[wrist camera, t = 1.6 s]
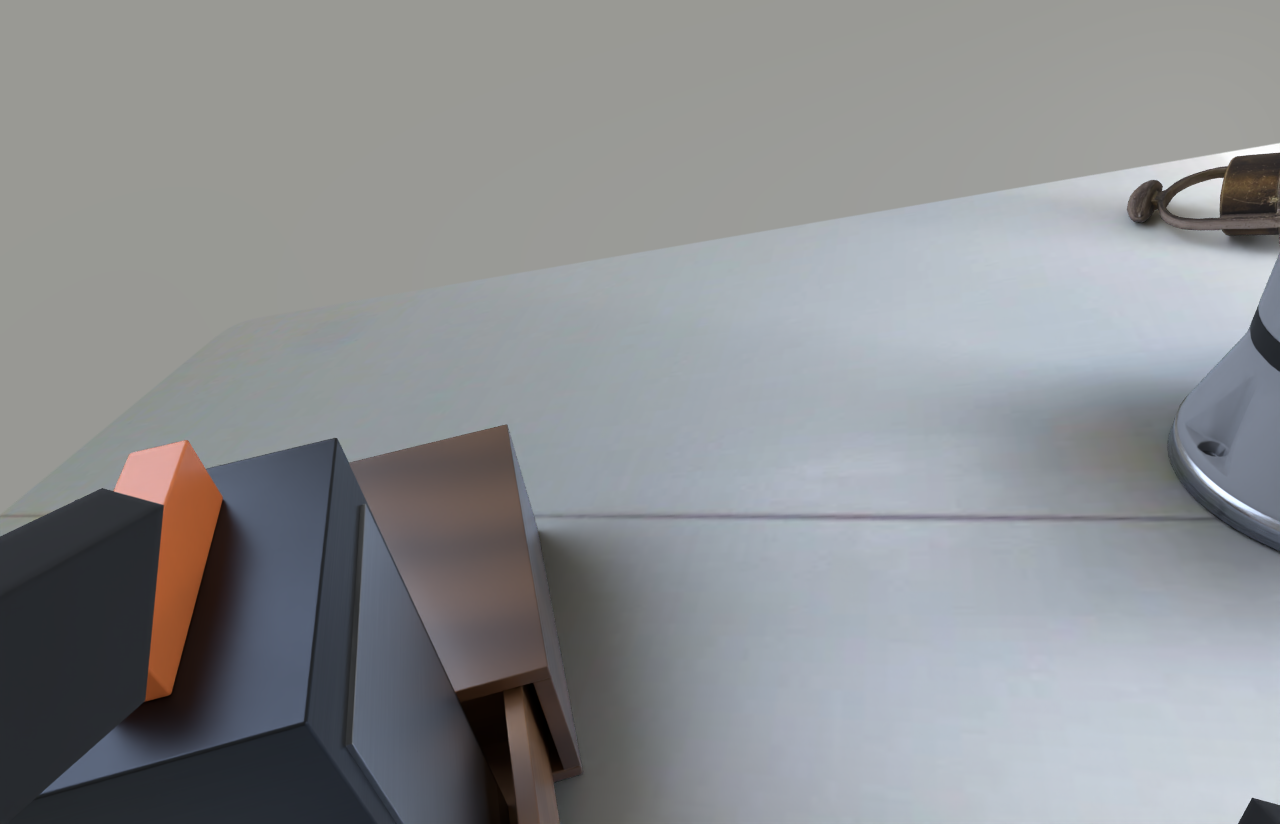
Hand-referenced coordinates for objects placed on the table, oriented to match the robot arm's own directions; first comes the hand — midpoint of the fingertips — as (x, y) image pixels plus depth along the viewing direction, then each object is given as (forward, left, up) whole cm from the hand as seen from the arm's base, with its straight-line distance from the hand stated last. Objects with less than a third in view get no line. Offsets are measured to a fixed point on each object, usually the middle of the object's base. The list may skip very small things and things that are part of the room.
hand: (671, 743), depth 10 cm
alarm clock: (+4, -13, -25) cm, 29 cm away
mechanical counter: (-74, -12, -27) cm, 80 cm away
